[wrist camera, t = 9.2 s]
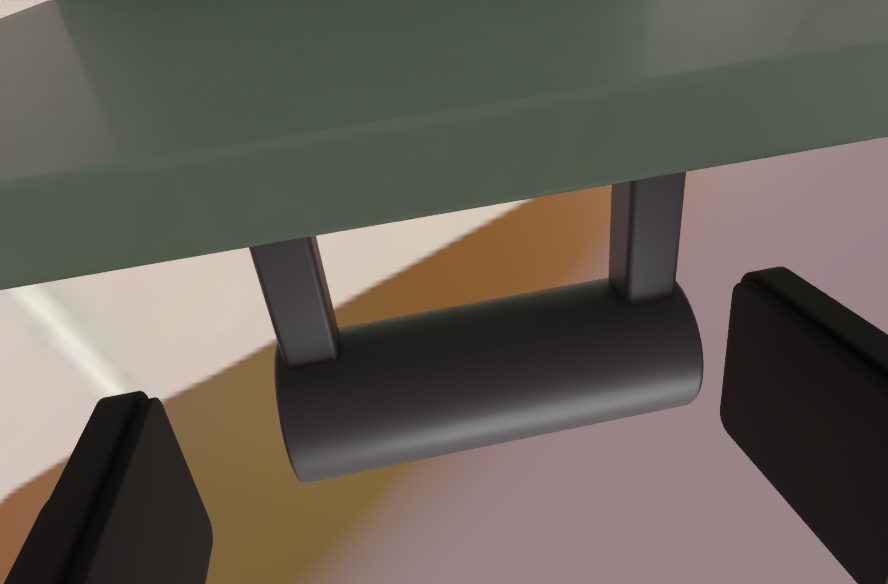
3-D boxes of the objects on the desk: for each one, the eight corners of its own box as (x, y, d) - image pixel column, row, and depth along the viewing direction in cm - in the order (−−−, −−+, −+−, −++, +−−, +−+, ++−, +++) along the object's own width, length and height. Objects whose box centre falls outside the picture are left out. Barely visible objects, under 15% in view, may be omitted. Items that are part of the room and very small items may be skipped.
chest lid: (-767, 306, 4) (-214, 721, 7) (1454, -48, 6) (1152, 417, 8) (44, 1, 17) (123, 196, 19) (669, -85, 18) (656, 109, 21)
